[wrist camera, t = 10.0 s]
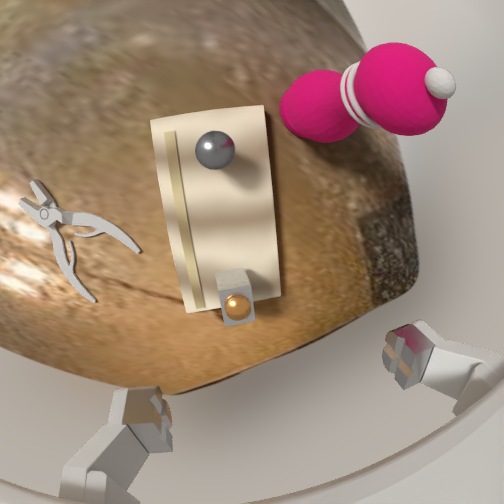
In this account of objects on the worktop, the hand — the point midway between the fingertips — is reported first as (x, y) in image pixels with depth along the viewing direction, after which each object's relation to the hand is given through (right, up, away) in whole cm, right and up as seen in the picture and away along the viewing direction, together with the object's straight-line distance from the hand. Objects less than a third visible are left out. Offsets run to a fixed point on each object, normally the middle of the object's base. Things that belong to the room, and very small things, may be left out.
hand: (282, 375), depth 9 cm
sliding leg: (-3, +1, +22) cm, 22 cm away
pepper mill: (+5, +19, +19) cm, 27 cm away
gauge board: (-4, +8, +21) cm, 23 cm away
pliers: (-21, +6, +19) cm, 29 cm away
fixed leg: (-5, +14, +17) cm, 22 cm away
